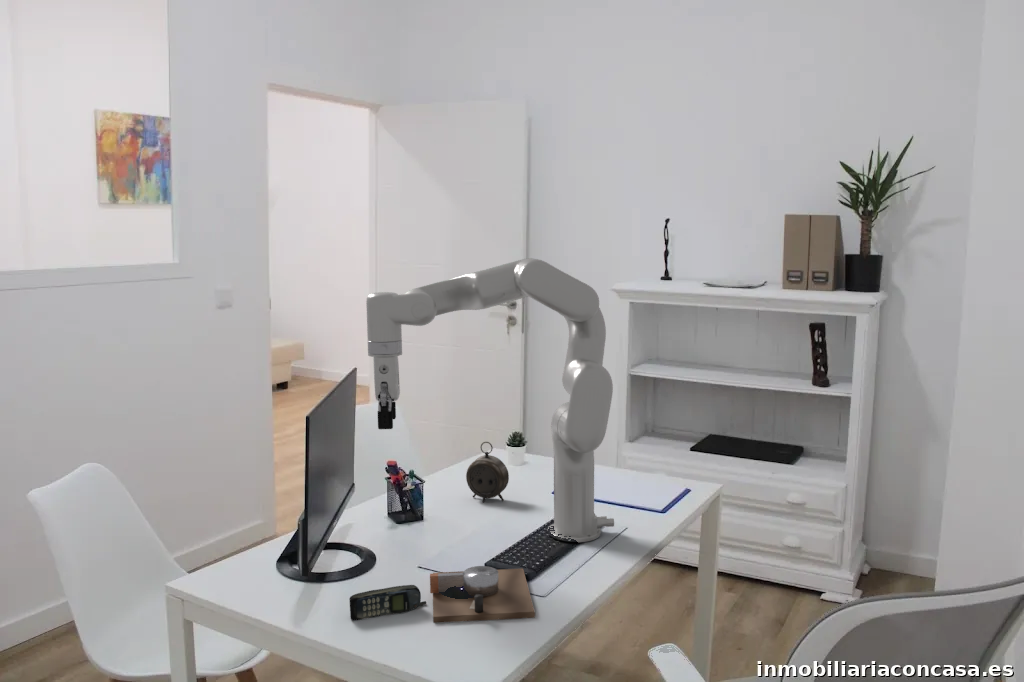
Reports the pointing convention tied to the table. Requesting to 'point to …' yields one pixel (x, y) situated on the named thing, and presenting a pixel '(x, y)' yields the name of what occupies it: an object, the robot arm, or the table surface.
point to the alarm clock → (487, 476)
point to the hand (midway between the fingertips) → (387, 423)
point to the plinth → (488, 601)
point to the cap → (467, 581)
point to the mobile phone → (385, 602)
